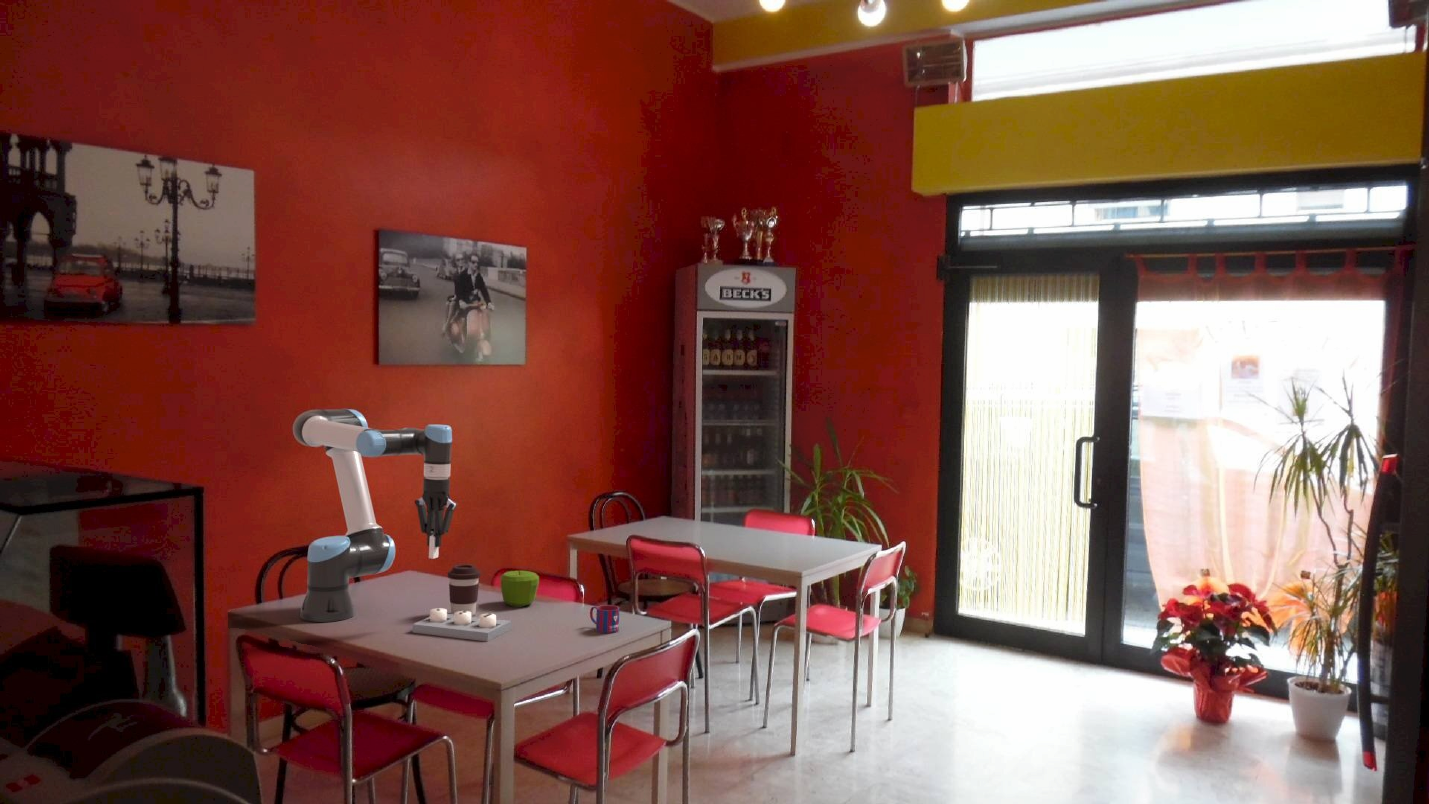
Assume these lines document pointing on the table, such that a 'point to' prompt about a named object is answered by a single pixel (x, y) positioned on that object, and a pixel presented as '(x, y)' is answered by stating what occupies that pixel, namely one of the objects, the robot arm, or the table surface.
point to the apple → (519, 587)
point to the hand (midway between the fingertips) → (433, 557)
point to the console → (461, 629)
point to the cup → (606, 618)
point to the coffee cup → (463, 588)
